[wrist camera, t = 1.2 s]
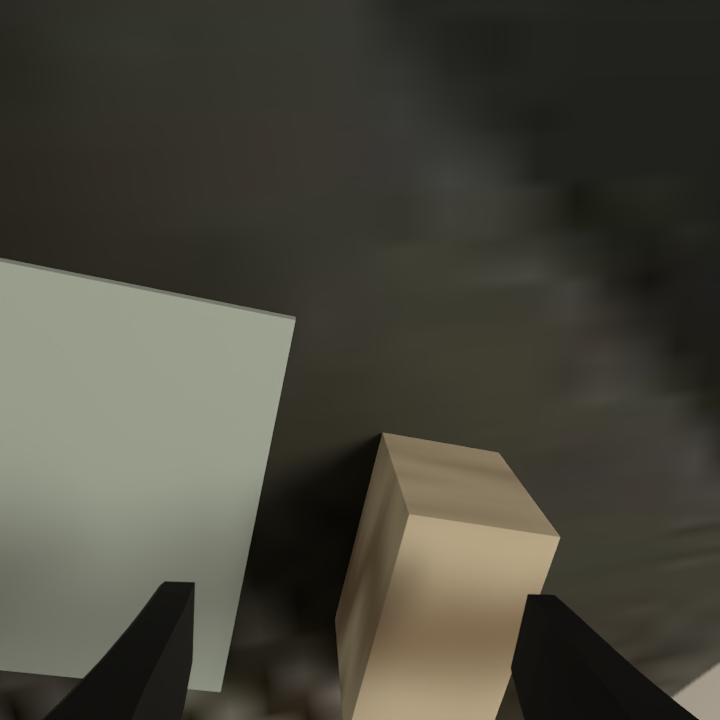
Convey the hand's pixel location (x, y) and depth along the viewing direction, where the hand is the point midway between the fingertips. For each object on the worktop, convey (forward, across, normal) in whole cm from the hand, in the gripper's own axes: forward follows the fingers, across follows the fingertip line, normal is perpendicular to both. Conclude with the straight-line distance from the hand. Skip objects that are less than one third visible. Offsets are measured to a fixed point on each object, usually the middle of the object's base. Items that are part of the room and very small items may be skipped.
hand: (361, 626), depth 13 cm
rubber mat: (+9, +10, +2) cm, 13 cm away
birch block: (+9, -3, +4) cm, 10 cm away
